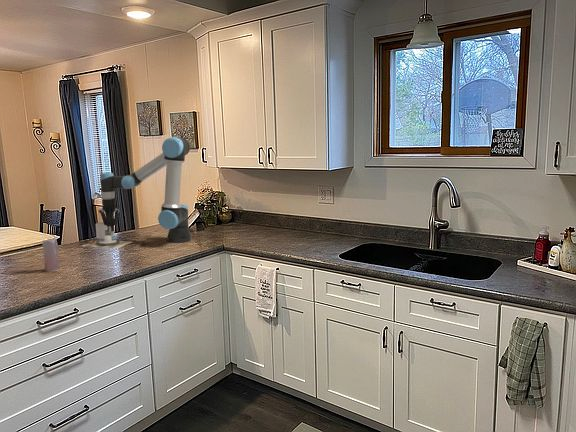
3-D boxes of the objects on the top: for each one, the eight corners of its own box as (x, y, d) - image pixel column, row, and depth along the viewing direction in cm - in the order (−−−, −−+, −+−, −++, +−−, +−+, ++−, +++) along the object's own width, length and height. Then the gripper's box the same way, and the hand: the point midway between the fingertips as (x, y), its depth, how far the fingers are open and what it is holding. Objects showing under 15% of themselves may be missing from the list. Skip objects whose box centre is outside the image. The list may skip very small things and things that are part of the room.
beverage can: (48, 268, 214) (45, 238, 212) (61, 268, 215) (58, 238, 212) (42, 272, 208) (39, 241, 206) (55, 271, 209) (53, 241, 206)
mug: (118, 238, 283) (117, 222, 281) (110, 241, 275) (109, 225, 273) (102, 237, 286) (101, 221, 284) (93, 239, 278) (92, 224, 276)
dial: (117, 244, 259) (116, 233, 258) (99, 246, 255) (98, 234, 254) (115, 239, 273) (115, 229, 272) (98, 241, 269) (97, 230, 268)
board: (134, 243, 268) (133, 239, 268) (118, 250, 252) (118, 245, 251) (98, 241, 273) (97, 237, 272) (80, 248, 256) (80, 243, 256)
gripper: (121, 197, 267) (124, 235, 271) (102, 197, 269) (105, 235, 273) (115, 199, 260) (118, 238, 264) (95, 199, 262) (98, 237, 266)
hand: (111, 236), depth 268 cm, fingers closed
